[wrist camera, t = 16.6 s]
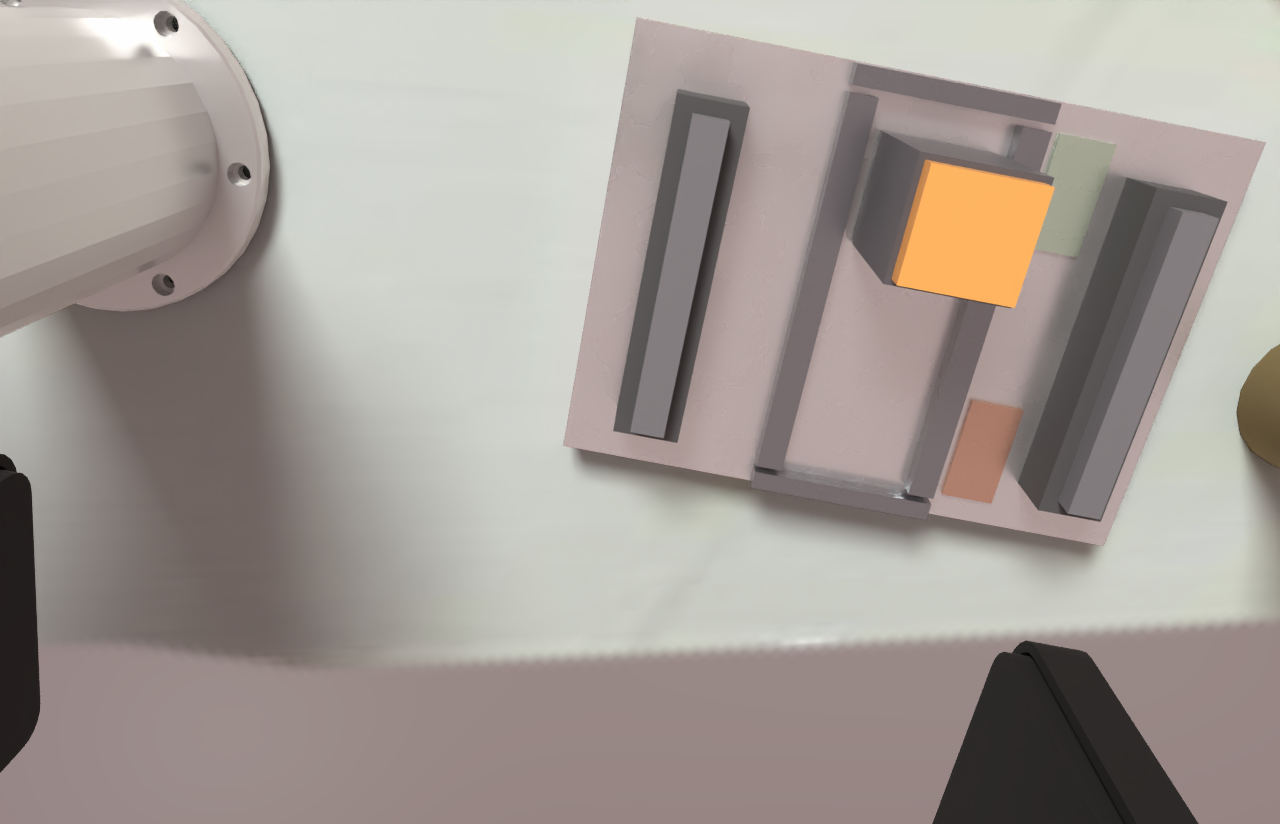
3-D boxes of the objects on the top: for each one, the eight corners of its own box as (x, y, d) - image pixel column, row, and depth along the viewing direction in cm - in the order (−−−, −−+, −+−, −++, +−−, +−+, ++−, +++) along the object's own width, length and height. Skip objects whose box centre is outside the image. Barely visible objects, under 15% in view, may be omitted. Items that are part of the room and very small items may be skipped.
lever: (851, 243, 36) (888, 290, 30) (881, 130, 35) (926, 154, 28) (960, 264, 36) (1019, 315, 30) (994, 153, 35) (1064, 181, 29)
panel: (568, 426, 42) (561, 454, 39) (638, 17, 36) (635, 17, 33) (1085, 523, 42) (1111, 555, 40) (1236, 136, 36) (1278, 145, 34)
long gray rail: (617, 407, 39) (611, 441, 36) (677, 88, 35) (677, 95, 32) (1077, 493, 40) (1111, 534, 36) (1193, 190, 35) (1243, 207, 32)
